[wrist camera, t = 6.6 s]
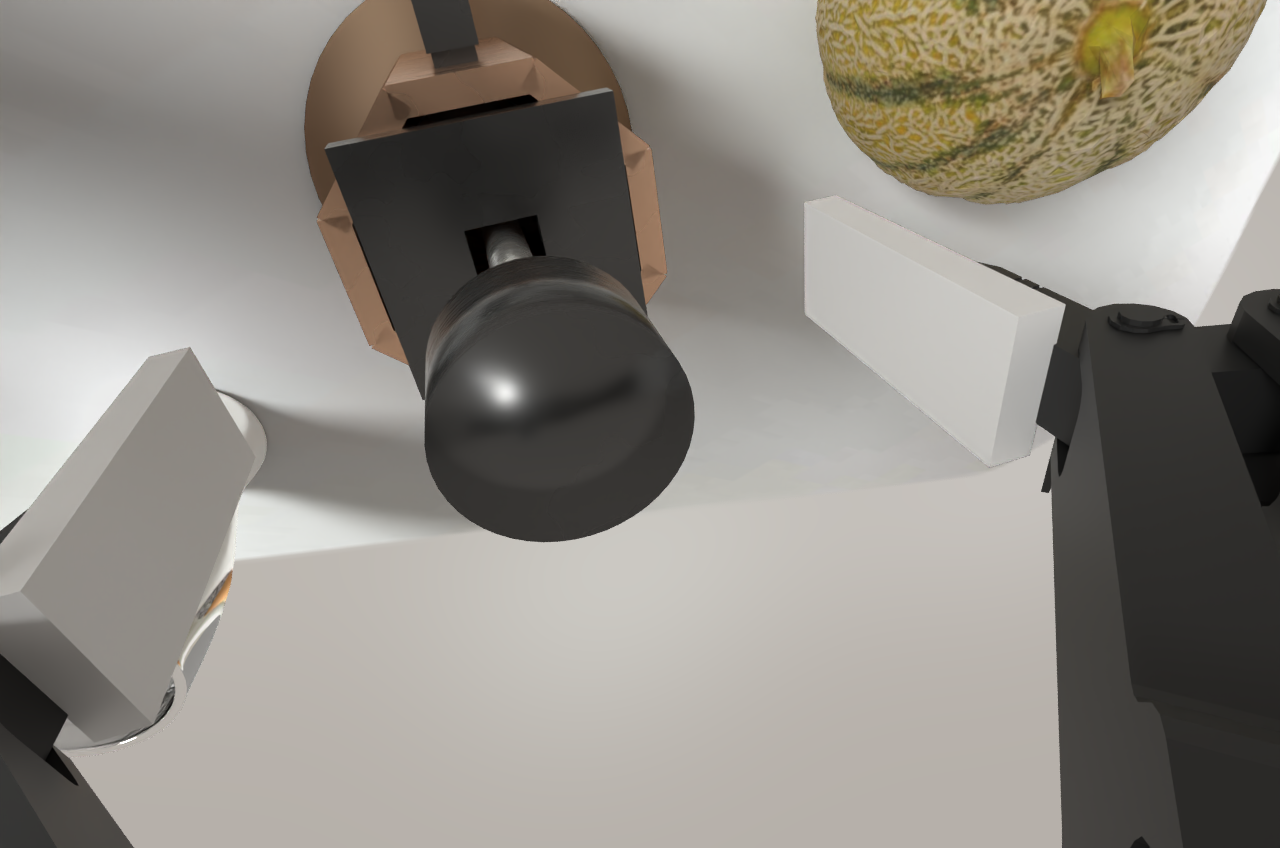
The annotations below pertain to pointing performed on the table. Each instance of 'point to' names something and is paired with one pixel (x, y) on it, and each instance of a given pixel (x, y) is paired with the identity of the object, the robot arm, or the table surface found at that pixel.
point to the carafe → (480, 181)
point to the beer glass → (202, 626)
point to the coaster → (387, 27)
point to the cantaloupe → (1020, 84)
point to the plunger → (549, 392)
